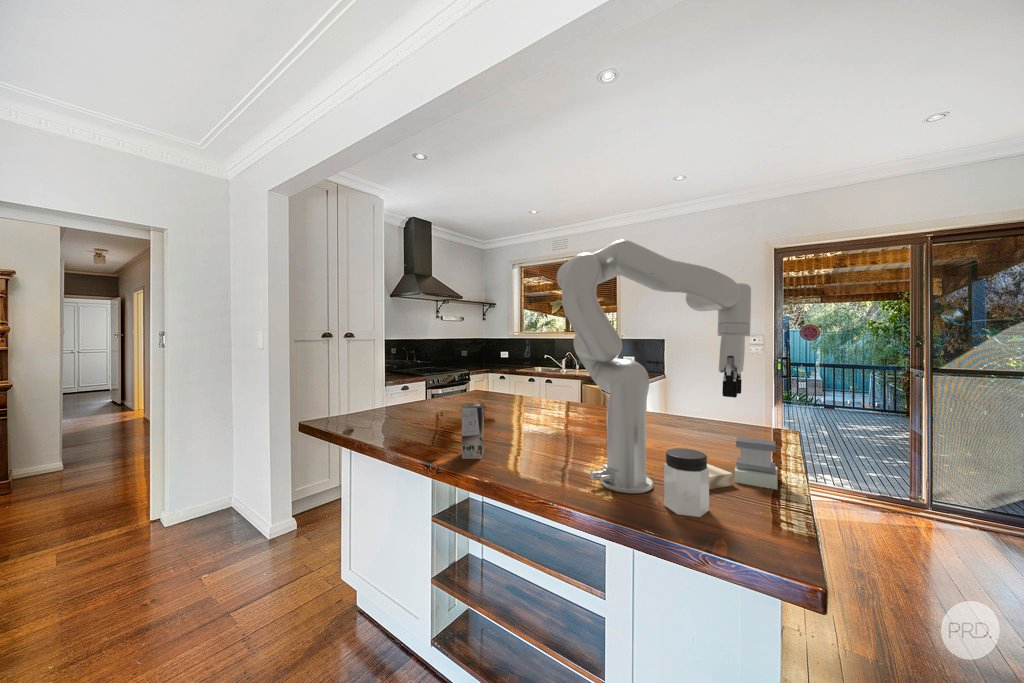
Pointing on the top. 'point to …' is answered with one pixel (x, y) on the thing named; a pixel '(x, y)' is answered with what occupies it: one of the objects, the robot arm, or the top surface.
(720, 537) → the top surface
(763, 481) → the stand
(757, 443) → the housing
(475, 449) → the coffee box
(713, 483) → the stand
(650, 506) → the top surface
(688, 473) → the jar
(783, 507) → the top surface
